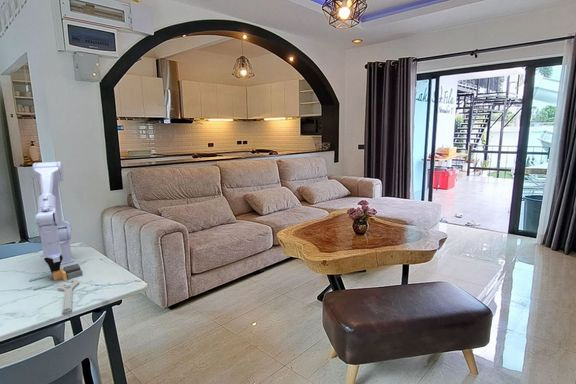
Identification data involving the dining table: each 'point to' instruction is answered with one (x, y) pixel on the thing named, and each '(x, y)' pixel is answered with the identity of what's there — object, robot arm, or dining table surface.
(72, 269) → the plug block
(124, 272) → the dining table surface
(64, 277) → the orange l-shaped block
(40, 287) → the rails
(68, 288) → the adjustable wrench
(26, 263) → the dining table surface
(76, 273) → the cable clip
